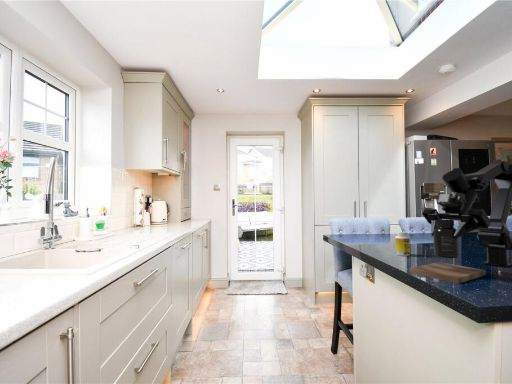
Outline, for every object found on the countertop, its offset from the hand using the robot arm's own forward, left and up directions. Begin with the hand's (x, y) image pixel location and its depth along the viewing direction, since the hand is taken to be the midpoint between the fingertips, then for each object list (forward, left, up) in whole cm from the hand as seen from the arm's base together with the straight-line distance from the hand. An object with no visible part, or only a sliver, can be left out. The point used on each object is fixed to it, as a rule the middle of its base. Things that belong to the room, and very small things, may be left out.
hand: (443, 236), depth 88 cm
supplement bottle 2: (-1, 0, -7) cm, 7 cm away
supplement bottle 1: (-19, -26, -12) cm, 34 cm away
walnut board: (-1, 0, -12) cm, 12 cm away
